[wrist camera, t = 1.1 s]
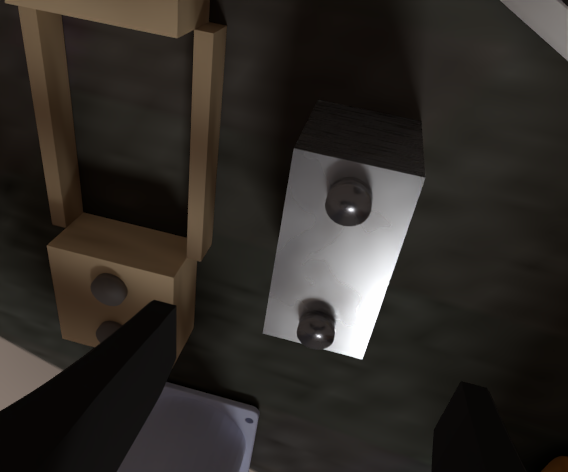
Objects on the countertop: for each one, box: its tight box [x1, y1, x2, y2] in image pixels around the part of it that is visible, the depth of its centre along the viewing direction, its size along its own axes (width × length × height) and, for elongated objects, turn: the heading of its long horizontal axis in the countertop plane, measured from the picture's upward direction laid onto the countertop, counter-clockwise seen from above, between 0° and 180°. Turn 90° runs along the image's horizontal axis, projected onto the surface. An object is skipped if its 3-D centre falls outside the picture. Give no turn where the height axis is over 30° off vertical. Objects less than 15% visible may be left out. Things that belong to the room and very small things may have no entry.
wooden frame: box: [5, 0, 227, 366], centre depth 20 cm, size 22×7×3 cm, turn 172°
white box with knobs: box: [263, 99, 425, 359], centre depth 19 cm, size 8×4×6 cm, turn 172°
